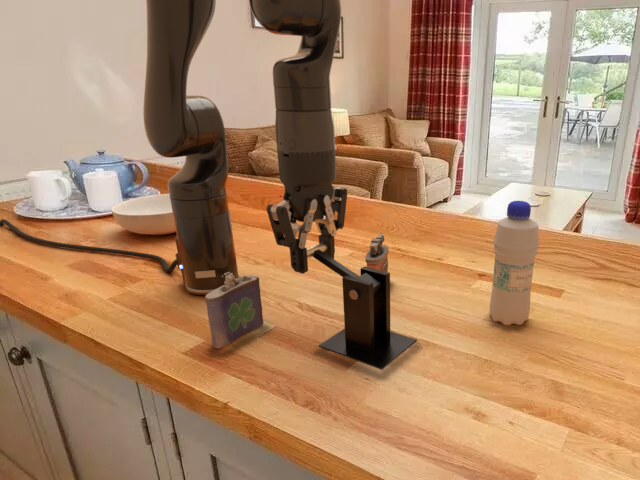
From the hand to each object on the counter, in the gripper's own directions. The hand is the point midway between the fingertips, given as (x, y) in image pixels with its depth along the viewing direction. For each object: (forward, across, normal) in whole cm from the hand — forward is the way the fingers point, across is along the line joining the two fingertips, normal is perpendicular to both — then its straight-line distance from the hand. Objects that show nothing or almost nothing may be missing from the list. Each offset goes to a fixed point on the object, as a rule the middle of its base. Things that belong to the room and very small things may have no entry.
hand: (314, 265), depth 71 cm
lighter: (+11, -18, -2) cm, 21 cm away
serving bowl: (+12, -19, -68) cm, 71 cm away
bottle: (+11, -19, +24) cm, 32 cm away
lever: (+1, 0, +5) cm, 5 cm away
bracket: (+11, 0, +10) cm, 15 cm away
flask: (+11, +8, -8) cm, 16 cm away
